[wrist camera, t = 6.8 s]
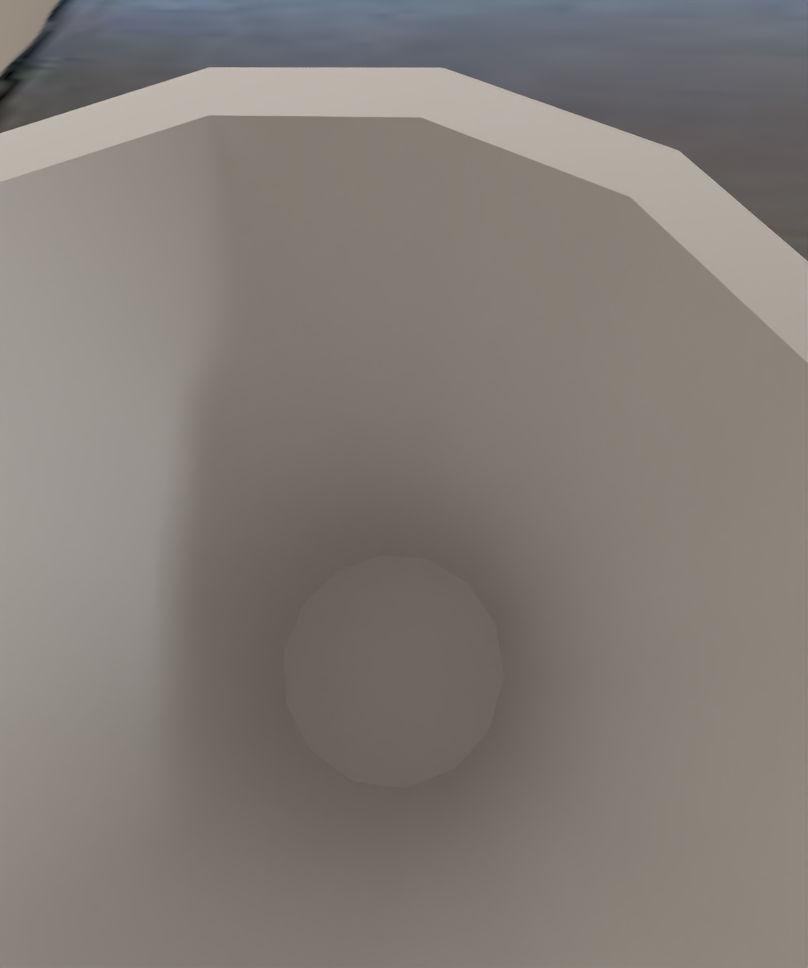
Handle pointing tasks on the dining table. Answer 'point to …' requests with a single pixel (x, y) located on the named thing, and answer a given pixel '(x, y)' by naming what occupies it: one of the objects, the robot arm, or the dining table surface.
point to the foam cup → (395, 537)
